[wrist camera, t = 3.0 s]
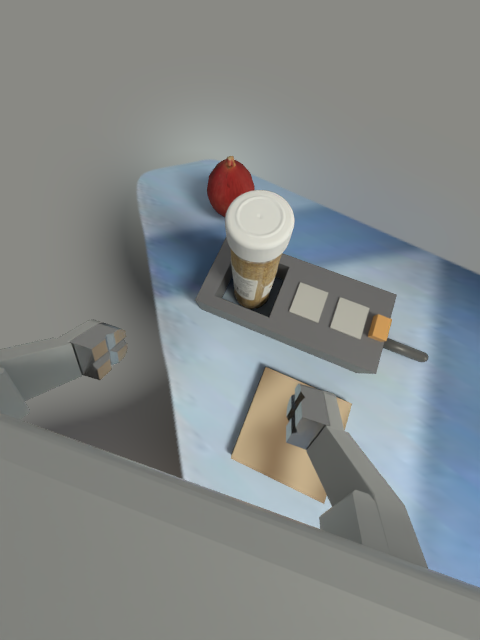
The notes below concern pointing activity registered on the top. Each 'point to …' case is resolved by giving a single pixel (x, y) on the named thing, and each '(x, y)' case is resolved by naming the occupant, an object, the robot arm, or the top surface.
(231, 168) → the onion
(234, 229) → the sprinkles bottle
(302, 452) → the wooden mat
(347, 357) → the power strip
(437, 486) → the top surface
